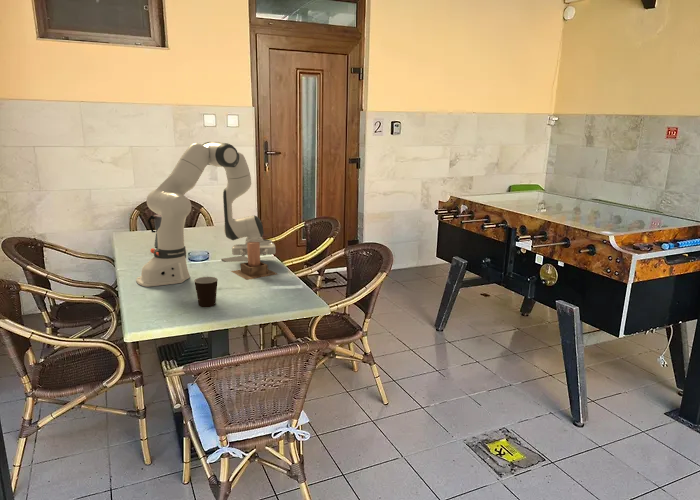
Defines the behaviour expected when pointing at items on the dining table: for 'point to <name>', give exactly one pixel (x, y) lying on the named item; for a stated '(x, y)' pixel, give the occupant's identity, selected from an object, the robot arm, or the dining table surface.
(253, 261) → the brown tall block piece
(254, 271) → the jug stand
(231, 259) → the mat
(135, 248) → the dining table surface
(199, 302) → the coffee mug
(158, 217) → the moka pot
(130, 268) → the dining table surface
